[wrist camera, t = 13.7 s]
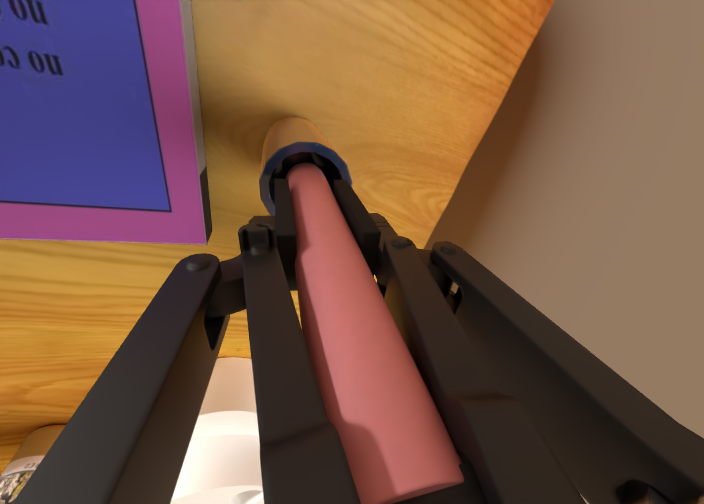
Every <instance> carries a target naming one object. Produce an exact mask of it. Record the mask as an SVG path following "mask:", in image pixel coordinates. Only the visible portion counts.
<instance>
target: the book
mask: <svg viewBox="0 0 704 504" xmlns="http://www.w3.org/2000/svg"><path fill="white" fill-rule="evenodd" d="M211 232H212V222H211V211H210V200H209V190H208V179H207V168H206V158H205V147H204V136H203V126H202V115H201V104H200V93H199V83H198V72H197V61H196V51H195V40H194V29H193V19H192V8H191V0H0V239H14V240H50V241H86V242H122V243H158V244H194V245H207V243H208V240H209V238H210V235H211Z"/></svg>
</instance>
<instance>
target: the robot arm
mask: <svg viewBox="0 0 704 504" xmlns="http://www.w3.org/2000/svg"><path fill="white" fill-rule="evenodd" d="M274 180H275V216H254V217H253V218H252V219H251V220H250V221H249V224H247V225H244V226H242V227H241V228H240V229H239V231H238V236H239V243H240V250H241V254H240V255H239V256H237V257H235V258H233V259H229V260H226V261H221V262H219V259H218V258H217V256H214V255H212V254H205V253H204V254H194V255H191V256H188V257H186V258H184V259H182V260H181V261H180V262H179V263H178V264H177V265H176V266H175V268H174V269H173V271H172V272H171V274H170V275H169V277H168V278H167V279H166V281H165V282H164V284H163V285H162V287H161V288H160V290H159V291H158V292H157V294H156V295H155V297H154V298H153V300H152V301H151V303H150V304H149V306H148V307H147V308H146V310H145V311H144V313H143V314H142V316H141V317H140V319H139V320H138V322H137V323H136V324H135V326H134V327H133V329H132V330H131V332H130V333H129V335H128V336H127V337H126V339H125V340H124V342H123V343H122V345H121V346H120V348H119V349H118V351H117V352H116V353H115V355H114V356H113V358H112V359H111V361H110V362H109V364H108V365H107V367H106V368H105V369H104V371H103V372H102V374H101V375H100V377H99V378H98V380H97V381H96V382H95V384H94V385H93V387H92V388H91V390H90V391H89V393H88V394H87V396H86V397H85V398H84V400H83V401H82V403H81V404H80V406H79V407H78V409H77V410H76V412H75V413H74V414H73V416H72V417H71V419H70V420H69V422H68V423H67V425H66V426H65V427H64V429H63V430H62V432H61V433H60V435H59V436H58V438H57V439H56V441H55V442H54V443H53V445H52V446H51V448H50V449H49V451H48V452H47V454H46V455H45V457H44V458H43V459H42V461H41V462H40V464H39V465H38V467H37V468H36V470H35V471H34V472H33V474H32V475H31V477H30V478H29V480H28V481H27V483H26V484H25V486H24V487H23V488H22V490H21V491H20V493H19V494H18V496H17V497H16V499H15V500H14V502H13V503H12V504H170V503H171V500H172V497H173V494H174V490H175V487H176V484H177V481H178V478H179V475H180V472H181V469H182V465H183V462H184V459H185V456H186V453H187V450H188V447H189V444H190V441H191V437H192V434H193V431H194V428H195V425H196V422H197V419H198V416H199V413H200V409H201V406H202V403H203V400H204V397H205V394H206V391H207V388H208V384H209V381H210V378H211V375H212V372H213V369H214V366H215V363H216V360H217V356H218V353H219V350H220V347H221V344H222V341H223V338H224V335H225V332H226V328H227V325H228V322H229V319H230V314H233V313H236V312H239V311H242V310H245V309H247V320H248V330H249V340H250V350H251V360H252V370H253V380H254V391H255V401H256V411H257V421H258V431H259V442H260V465H261V476H262V487H263V498H264V504H361V502H360V499H359V496H358V492H357V489H356V486H355V483H354V480H353V477H352V473H351V470H350V467H349V464H348V461H347V458H346V454H345V451H344V448H343V445H342V442H341V439H340V436H339V434H338V431H337V429H336V427H335V425H334V424H332V423H331V422H330V421H329V419H328V416H327V413H326V410H325V406H324V403H323V400H322V396H321V393H320V390H319V386H318V383H317V380H316V376H315V373H314V369H313V366H312V363H311V359H310V356H309V353H308V349H307V346H306V343H305V339H304V336H303V333H302V329H301V326H300V323H299V319H298V316H297V313H296V309H295V306H294V302H293V299H292V296H291V292H290V291H294V290H297V281H296V272H295V259H296V256H297V244H296V229H295V222H294V215H293V209H292V202H291V195H290V188H289V181H288V179H274ZM333 195H334V197H335V199H336V201H337V203H338V205H339V207H340V209H341V211H342V213H343V215H344V217H345V219H346V221H347V223H348V226H349V228H350V230H351V232H352V234H353V236H354V238H355V240H356V242H357V244H358V246H359V248H360V250H361V252H362V254H363V257H364V259H365V261H366V263H367V265H368V267H369V269H370V271H371V273H372V275H373V277H374V274H375V276H376V278H377V285H378V288H379V290H380V292H381V294H382V296H383V298H384V300H385V302H386V304H387V306H388V308H389V310H390V312H391V314H392V316H393V319H394V321H395V323H396V325H397V327H398V329H399V331H400V333H401V335H402V337H403V339H404V341H405V343H406V345H407V347H408V350H409V352H410V354H411V356H412V358H413V360H414V362H415V364H416V366H417V368H418V370H419V372H420V374H421V376H422V378H423V381H424V383H425V385H426V387H427V389H428V391H429V393H430V395H431V397H432V399H433V401H434V403H435V405H436V407H437V410H438V412H439V414H440V416H441V418H442V421H443V423H444V425H445V427H446V429H447V432H448V434H449V436H450V438H451V440H452V443H453V445H454V447H455V450H456V452H457V454H458V455H459V456H460V457H461V459H462V461H463V464H459V465H458V466H459V468H460V470H461V472H462V475H463V477H464V482H463V483H461V484H457V485H454V486H450V487H447V488H444V489H440V490H437V491H434V492H430V493H427V494H423V495H420V496H417V497H413V498H410V499H406V500H403V501H400V502H396V503H393V504H586V503H585V501H584V500H583V498H582V496H583V497H584V498H585V499H586V500H587V501H588V502H589V503H590V504H704V439H703V438H702V437H700V436H699V435H697V434H695V433H694V432H692V431H690V430H689V429H687V428H686V427H684V426H682V425H681V424H679V423H678V422H676V421H675V420H674V419H673V418H672V417H670V416H669V415H668V414H666V413H665V412H664V411H663V410H662V409H660V408H659V407H658V406H657V405H655V404H654V403H653V402H652V401H650V400H649V399H648V398H647V397H645V396H644V395H643V394H642V393H640V392H639V391H638V390H637V389H636V388H634V387H633V386H632V385H630V384H629V383H628V382H627V381H626V380H624V379H623V378H622V377H621V376H619V375H618V374H617V373H616V372H614V371H613V370H612V369H611V368H609V367H608V366H607V365H606V364H604V363H603V362H602V361H601V360H600V359H598V358H597V357H596V356H595V355H593V354H592V353H590V351H588V350H587V349H586V348H585V347H583V346H582V345H581V344H580V343H578V342H577V341H576V340H575V339H573V338H572V337H571V336H570V335H569V334H567V333H566V332H565V331H563V330H562V329H561V328H560V327H559V326H557V325H556V324H555V323H554V322H552V321H551V320H550V319H548V318H547V317H546V316H545V315H544V314H542V313H541V312H540V311H539V310H537V309H536V308H535V307H534V306H532V305H531V304H530V303H529V302H527V301H526V300H525V299H524V298H523V297H521V296H520V295H519V294H517V293H516V292H515V291H514V290H513V289H511V288H510V287H509V286H508V285H506V284H505V283H504V282H503V281H501V280H500V279H499V278H498V277H496V276H495V275H494V274H493V273H492V272H490V271H489V270H488V269H487V268H485V267H484V266H483V265H482V264H480V263H479V262H478V261H476V260H475V259H474V258H473V257H472V256H470V255H469V254H468V253H467V252H465V251H464V250H463V249H462V248H460V247H459V246H457V245H455V244H452V243H451V242H436V243H435V244H434V245H433V247H432V250H431V251H430V250H423V249H417V248H416V246H415V244H414V243H413V242H412V241H411V240H410V239H408V238H405V237H402V236H398V235H397V233H396V232H395V231H394V229H393V228H392V227H391V225H390V224H389V223H388V222H387V220H386V219H385V218H384V217H383V216H381V215H380V214H378V213H368V211H367V210H366V208H365V207H364V205H363V204H362V202H361V201H360V199H359V198H358V196H357V195H356V193H355V192H354V190H353V189H352V187H351V186H350V184H349V183H348V181H347V180H334V190H333ZM454 282H455V283H456V284H457V285H458V286H459V287H458V290H457V292H456V294H455V293H454V292H453V291H452V290H451V288H452V286H453V283H454ZM580 494H581V495H582V496H581V495H580Z"/></svg>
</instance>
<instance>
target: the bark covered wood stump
mask: <svg viewBox="0 0 704 504" xmlns="http://www.w3.org/2000/svg"><path fill="white" fill-rule="evenodd" d="M65 426H66V425H51V426H46V427H42V428H39V429H37V430H35V431H33V432H32V433H30V434H29V435H28V436H27V437H26V439H25V440H24V442H23V443H22V445H21V446H20V448H19V449H18V451H17V452H16V454H15V455H14V457H13V458H12V460H11V461H10V463H9V464H8V465H7V467H6V468H5V470H4V471H3V473H2V474H1V476H0V504H12V503H13V502H14V500H15V499H16V497H17V496H18V494H19V493H20V491H21V490H22V488H23V487H24V486H25V484H26V483H27V481H28V480H29V478H30V477H31V475H32V474H33V472H34V471H35V470H36V468H37V467H38V465H39V464H40V462H41V461H42V459H43V458H44V457H45V455H46V454H47V452H48V451H49V449H50V448H51V446H52V445H53V443H54V442H55V441H56V439H57V438H58V436H59V435H60V433H61V432H62V430H63V429H64V427H65Z"/></svg>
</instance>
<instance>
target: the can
mask: <svg viewBox="0 0 704 504" xmlns="http://www.w3.org/2000/svg"><path fill="white" fill-rule="evenodd" d="M299 163H311V164H314V165H316V166H317V167H319V168H320V169H321V171H322V172H323V174H324V176H325V178H326V180H327V182H328V184H329V186H330V188H331V190H332V192H333V190H334V180H347V181H348V183H349V184H350V186H351V187H352V179H351V176H350V173H349V169H348V166H347V165H346V163H345V162H344V160H343V159H342V158H341V157H340V155H339V154H338V153H337V151H336V150H335V149H334V148H333V146H332V145H331V144H330V143H329V141H328V140H327V139H326V137H325V136H324V135H323V134H322V132H321V131H320V130H319V129H318V128H317V127H316V125H314V124H313V123H312V122H310V121H308V120H306V119H304V118H300V117H287V118H283V119H281V120H279V121H277V122H276V123H275V124H273V125H272V127H271V128H270V129H269V131H268V132H267V134H266V137H265V141H264V145H263V153H262V161H261V170H260V178H259V185H260V196H261V200H262V202H263V203H264V205H265V207H266V209H267V211H268V212H269V213H270V215H271V216H275V180H274V179H286V176H287V173H288V172H289V170H290V169H291V168H292V167H293V166H295V165H297V164H299Z"/></svg>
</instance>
